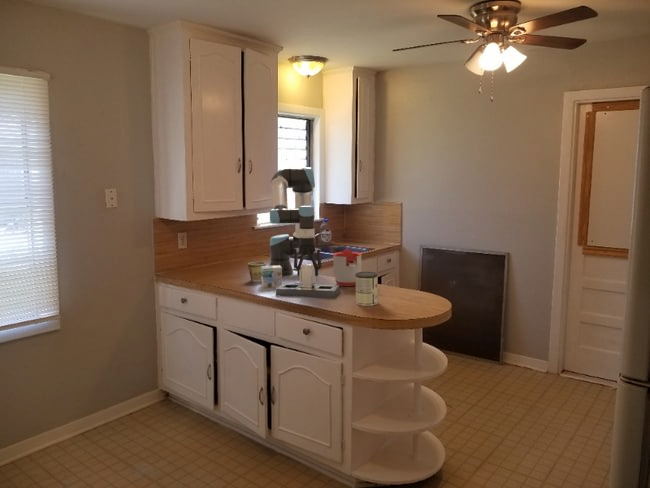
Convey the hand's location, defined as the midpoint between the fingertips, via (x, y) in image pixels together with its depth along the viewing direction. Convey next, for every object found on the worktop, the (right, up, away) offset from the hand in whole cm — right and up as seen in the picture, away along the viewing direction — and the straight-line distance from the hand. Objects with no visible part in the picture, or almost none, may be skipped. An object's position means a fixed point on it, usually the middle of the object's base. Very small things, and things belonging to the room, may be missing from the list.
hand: (307, 282), depth 277 cm
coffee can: (+28, -9, -20) cm, 35 cm away
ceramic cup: (-30, -2, +36) cm, 47 cm away
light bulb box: (-20, -4, +20) cm, 28 cm away
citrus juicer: (+21, -3, +20) cm, 30 cm away
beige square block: (0, -6, +1) cm, 6 cm away
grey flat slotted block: (0, -6, +1) cm, 6 cm away
